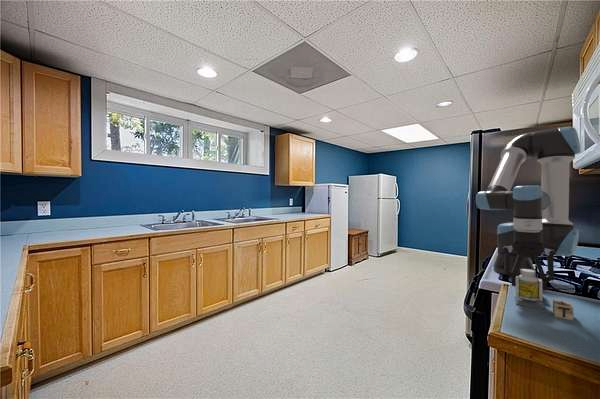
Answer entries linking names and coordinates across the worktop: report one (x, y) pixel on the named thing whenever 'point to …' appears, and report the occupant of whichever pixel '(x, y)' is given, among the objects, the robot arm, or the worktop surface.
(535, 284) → the supplement bottle
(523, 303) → the slate coaster
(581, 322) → the worktop surface
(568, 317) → the letter cube
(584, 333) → the worktop surface
